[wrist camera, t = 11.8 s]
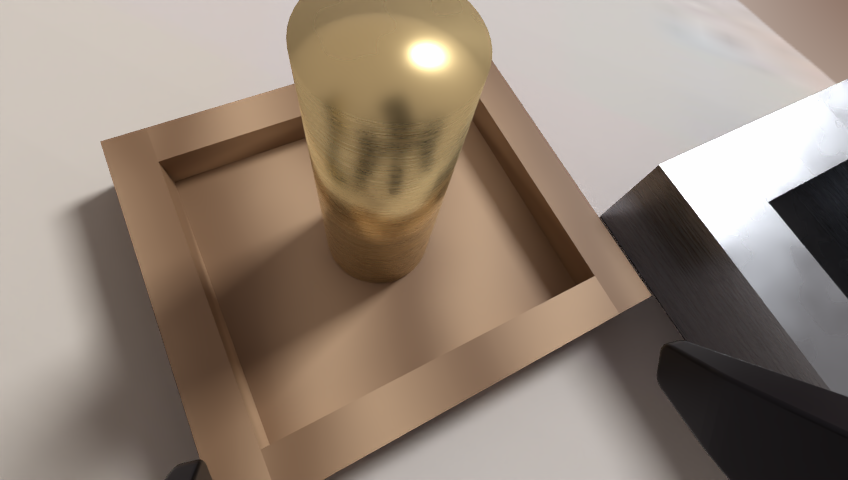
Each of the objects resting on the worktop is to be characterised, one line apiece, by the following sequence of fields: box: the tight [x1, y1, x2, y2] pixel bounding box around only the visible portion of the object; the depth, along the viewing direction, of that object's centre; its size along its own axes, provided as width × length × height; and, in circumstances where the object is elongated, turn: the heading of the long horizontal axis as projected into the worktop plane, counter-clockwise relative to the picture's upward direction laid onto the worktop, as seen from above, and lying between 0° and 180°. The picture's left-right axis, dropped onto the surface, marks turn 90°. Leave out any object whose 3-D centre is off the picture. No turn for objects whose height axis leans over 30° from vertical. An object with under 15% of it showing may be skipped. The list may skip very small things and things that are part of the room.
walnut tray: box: [101, 61, 652, 480], centre depth 18 cm, size 16×14×2 cm
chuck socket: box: [601, 79, 848, 397], centre depth 18 cm, size 12×12×4 cm
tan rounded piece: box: [286, 0, 492, 283], centre depth 13 cm, size 4×4×10 cm
